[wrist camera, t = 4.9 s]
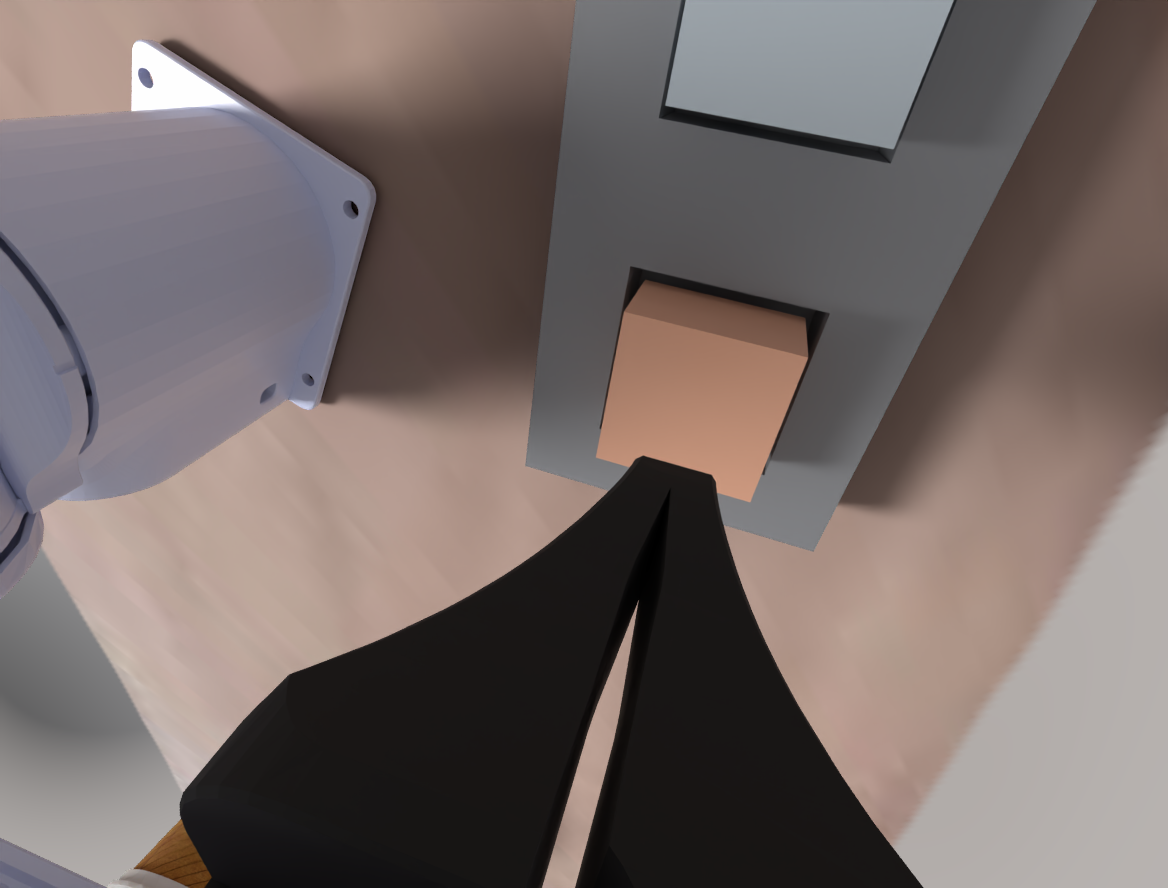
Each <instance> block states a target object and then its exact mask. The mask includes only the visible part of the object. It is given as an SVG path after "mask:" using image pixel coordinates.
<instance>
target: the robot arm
mask: <svg viewBox="0 0 1168 888" xmlns="http://www.w3.org/2000/svg"><path fill="white" fill-rule="evenodd" d="M150 73H151V75H152V77H153V82H154V84H153V82H152V80H151V78H150ZM351 201H353V202H354V203H355V204H356V205H357V208H358V210H359V215H356V214H355V213H354V212H353V210H352V208H351ZM375 203H376V192H375V188H374V186H373V185H372V183H371V181H369V180H368V179H367V178H366V177H365V176H363V175H362V174H360V173H359V172H357V171H356V170H354V169H352V168H351V167H349V166H348V165H346V164H345V163H343V162H342V161H340V160H339V159H337V158H335V157H334V156H332V155H331V154H329V153H328V152H326V151H325V150H323V149H322V148H320V147H318V146H317V145H315V144H314V143H312V142H311V141H309V140H308V139H306V138H305V137H303V136H301V135H300V134H298V133H297V132H295V131H294V130H292V129H291V128H289V127H287V126H286V125H284V124H283V123H281V122H280V121H278V120H277V119H275V118H274V117H272V116H270V115H269V114H267V113H266V112H264V111H263V110H261V109H260V108H258V107H257V106H255V105H253V104H252V103H250V102H249V101H247V100H246V99H244V98H243V97H241V96H239V95H238V94H236V93H235V92H233V91H232V90H230V89H229V88H227V87H226V86H224V85H222V84H221V83H219V82H218V81H216V80H215V79H213V78H212V77H210V76H209V75H207V74H205V73H204V72H202V71H201V70H199V69H198V68H196V67H195V66H193V65H192V64H190V63H188V62H187V61H185V60H184V59H182V58H181V57H179V56H178V55H176V54H174V53H173V52H171V51H170V50H168V49H167V48H165V47H164V46H162V45H161V44H159V43H157V42H155V41H153V40H137V41H136V42H135V43H134V45H133V50H132V111H124V112H109V113H95V114H80V115H66V116H51V117H36V118H22V119H7V120H0V599H1V598H3V597H4V596H5V595H6V594H7V593H8V592H9V591H10V590H11V589H12V587H14V586H15V584H16V583H17V582H18V581H19V580H20V579H21V578H22V577H23V576H24V575H25V573H26V572H27V570H28V569H29V567H30V566H31V564H32V563H33V561H34V560H35V558H36V557H37V554H38V551H39V549H40V547H41V544H42V542H43V532H44V523H43V519H42V516H41V512H40V510H41V509H42V508H44V507H46V506H48V505H49V504H51V503H53V502H54V501H56V500H69V501H87V500H98V499H105V498H112V497H117V496H122V495H127V494H131V493H134V492H138V491H141V490H144V489H147V488H150V487H152V486H155V485H157V484H159V483H161V482H163V481H165V480H167V479H169V478H170V477H172V476H173V475H175V474H176V473H178V472H179V471H181V470H182V469H184V468H185V467H187V466H188V465H190V464H191V463H193V462H194V461H196V460H197V459H199V458H200V457H202V456H203V455H205V454H206V453H208V452H209V451H211V450H212V449H214V448H215V447H217V446H218V445H220V444H221V443H223V442H224V441H226V440H227V439H229V438H230V437H232V436H233V435H235V434H236V433H238V432H239V431H241V430H242V429H244V428H245V427H247V426H248V425H250V424H251V423H253V422H254V421H256V420H257V419H259V418H260V417H262V416H263V415H265V414H266V413H268V412H269V411H271V410H272V409H274V408H275V407H277V406H278V405H280V404H281V403H283V402H284V401H286V400H287V399H288V400H290V401H292V402H293V403H295V404H296V405H298V406H300V407H301V408H304V409H306V410H311V409H313V408H315V407H316V406H317V405H319V403H320V401H321V397H322V394H323V390H324V387H325V383H326V379H327V376H328V372H329V369H330V365H331V361H332V358H333V354H334V351H335V347H336V343H337V340H338V336H339V333H340V329H341V325H342V322H343V318H344V315H345V311H346V307H347V304H348V300H349V297H350V293H351V289H352V286H353V282H354V279H355V275H356V271H357V268H358V264H359V261H360V257H361V253H362V250H363V246H364V242H365V239H366V235H367V232H368V228H369V224H370V221H371V217H372V214H373V210H374V206H375ZM309 375H310V376H312V378H313V379H314V380H312V379H311V378H310V376H309ZM638 600H639V602H638ZM637 603H638V608H637V614H636V620H635V626H634V631H633V637H632V643H631V649H630V655H629V661H628V667H627V673H626V679H625V685H624V691H623V697H622V702H621V708H620V714H619V719H618V724H617V729H616V733H615V738H614V742H613V746H612V750H611V754H610V758H609V762H608V765H607V769H606V773H605V777H604V781H603V784H602V788H601V792H600V796H599V800H598V803H597V807H596V811H595V815H594V819H593V822H592V826H591V830H590V834H589V838H588V841H587V845H586V849H585V853H584V856H583V860H582V864H581V868H580V872H579V875H578V879H577V883H576V887H575V888H923V887H922V885H921V884H920V883H919V881H918V880H917V879H916V877H915V876H914V875H913V874H912V872H911V871H910V870H909V868H908V867H907V866H906V864H905V863H904V862H903V860H902V859H901V858H900V857H899V855H898V854H897V853H896V851H895V850H894V849H893V847H892V846H891V845H890V844H889V842H888V841H887V840H886V838H885V837H884V836H883V834H882V833H881V832H880V830H879V829H878V828H877V827H876V825H875V824H874V822H873V821H872V820H871V818H870V817H869V815H868V814H867V812H866V811H865V809H864V808H863V807H862V805H861V804H860V802H859V801H858V799H857V798H856V796H855V795H854V793H853V792H852V790H851V789H850V787H849V786H848V785H847V783H846V782H845V780H844V779H843V777H842V776H841V774H840V773H839V771H838V769H837V768H836V766H835V765H834V763H833V761H832V760H831V758H830V756H829V755H828V753H827V752H826V750H825V748H824V747H823V745H822V743H821V742H820V740H819V738H818V737H817V735H816V734H815V732H814V730H813V729H812V727H811V725H810V724H809V722H808V721H807V719H806V717H805V716H804V714H803V712H802V711H801V709H800V707H799V706H798V704H797V702H796V700H795V698H794V697H793V695H792V693H791V691H790V689H789V687H788V685H787V684H786V682H785V680H784V678H783V676H782V674H781V672H780V670H779V669H778V667H777V664H776V662H775V660H774V658H773V656H772V654H771V652H770V650H769V648H768V646H767V644H766V642H765V640H764V638H763V635H762V633H761V631H760V629H759V626H758V624H757V622H756V619H755V617H754V615H753V612H752V610H751V607H750V605H749V602H748V599H747V597H746V594H745V592H744V589H743V587H742V584H741V581H740V578H739V575H738V572H737V569H736V566H735V563H734V560H733V557H732V553H731V550H730V547H729V544H728V540H727V537H726V533H725V529H724V525H723V521H722V517H721V512H720V507H719V502H718V496H717V488H716V481H715V479H714V478H713V476H712V475H711V474H707V473H704V472H700V471H697V470H693V469H689V468H686V467H682V466H679V465H675V464H672V463H668V462H664V461H661V460H657V459H654V458H650V457H647V456H641V457H639V458H636V459H635V460H634V462H633V463H632V465H631V466H630V468H629V469H628V470H627V471H626V473H625V474H624V475H623V476H622V477H621V478H620V480H619V481H618V482H617V483H616V484H615V485H614V486H613V487H612V488H611V489H610V490H609V491H608V492H607V493H606V494H605V495H604V496H603V497H602V498H601V499H600V500H599V501H598V502H597V503H596V504H595V505H594V506H593V507H592V508H591V509H590V510H589V511H587V512H586V513H585V514H584V515H583V516H582V517H581V518H580V519H579V520H578V521H576V522H575V523H574V524H573V525H571V526H570V527H569V528H568V529H567V530H565V531H564V532H563V533H562V534H560V535H559V536H558V537H557V538H556V539H554V540H553V541H552V542H551V543H549V544H548V545H547V546H545V547H544V548H543V549H541V550H540V551H539V552H537V553H536V554H535V555H533V556H532V557H530V558H529V559H528V560H526V561H525V562H523V563H522V564H520V565H519V566H517V567H516V568H514V569H513V570H511V571H510V572H508V573H507V574H505V575H504V576H502V577H500V578H499V579H497V580H495V581H494V582H492V583H490V584H489V585H487V586H485V587H483V588H482V589H480V590H478V591H477V592H475V593H473V594H472V595H470V596H468V597H466V598H465V599H463V600H461V601H459V602H457V603H455V604H454V605H452V606H450V607H448V608H446V609H444V610H442V611H440V612H438V613H436V614H434V615H431V616H429V617H427V618H425V619H423V620H421V621H419V622H417V623H415V624H413V625H410V626H408V627H406V628H404V629H402V630H400V631H398V632H396V633H394V634H392V635H389V636H387V637H385V638H382V639H380V640H378V641H375V642H373V643H371V644H368V645H366V646H363V647H360V648H358V649H355V650H353V651H350V652H347V653H345V654H342V655H340V656H337V657H334V658H332V659H329V660H327V661H324V662H321V663H319V664H316V665H314V666H311V667H308V668H306V669H303V670H300V671H297V672H295V673H292V674H289V675H288V676H287V677H286V678H285V679H284V680H283V681H282V682H281V683H280V684H279V685H278V686H277V687H276V688H275V689H274V690H273V691H272V692H271V693H270V694H269V695H268V696H267V697H266V698H265V699H264V700H263V701H262V702H261V703H260V704H259V705H258V706H257V707H256V708H255V709H254V710H253V711H252V712H251V713H250V714H249V715H248V716H247V717H246V718H245V719H244V720H243V721H242V723H241V724H240V725H239V726H238V727H237V728H236V730H235V731H234V732H233V733H232V734H231V736H230V737H229V738H228V739H227V740H226V742H225V743H224V744H223V745H222V746H221V748H220V749H219V750H218V751H217V752H216V754H215V755H214V756H213V757H212V758H211V760H210V761H209V762H208V763H207V764H206V766H205V767H204V768H203V769H202V771H201V772H200V773H199V774H198V775H197V777H196V778H195V779H194V780H193V781H192V783H191V784H190V785H189V786H188V787H187V789H186V790H185V791H184V792H183V795H182V798H181V801H180V816H181V819H182V822H183V825H184V828H185V830H186V832H187V834H188V836H189V838H190V839H191V841H192V843H193V845H194V846H195V848H196V850H197V852H198V854H199V855H200V857H201V859H202V861H203V863H204V864H205V866H206V868H207V870H208V871H209V873H210V875H211V879H210V880H209V882H208V883H207V884H206V886H205V887H204V888H542V886H543V882H544V879H545V875H546V872H547V869H548V865H549V862H550V858H551V855H552V851H553V848H554V845H555V841H556V838H557V834H558V831H559V828H560V824H561V821H562V817H563V814H564V811H565V807H566V804H567V800H568V797H569V794H570V790H571V787H572V783H573V780H574V777H575V773H576V770H577V766H578V763H579V760H580V756H581V753H582V749H583V746H584V743H585V739H586V736H587V733H588V730H589V727H590V724H591V721H592V718H593V715H594V712H595V709H596V707H597V704H598V701H599V699H600V696H601V694H602V691H603V689H604V686H605V684H606V681H607V679H608V676H609V674H610V671H611V669H612V666H613V664H614V661H615V658H616V656H617V653H618V651H619V648H620V646H621V643H622V641H623V638H624V636H625V633H626V631H627V628H628V626H629V623H630V620H631V618H632V615H633V613H634V610H635V608H636V605H637ZM0 888H107V887H104V886H102V885H100V884H98V883H96V882H94V881H92V880H89V879H87V878H85V877H83V876H81V875H79V874H77V873H74V872H72V871H70V870H68V869H66V868H64V867H62V866H59V865H57V864H55V863H53V862H51V861H49V860H47V859H44V858H42V857H40V856H38V855H36V854H33V853H31V852H29V851H27V850H25V849H23V848H21V847H19V846H16V845H14V844H12V843H10V842H8V841H5V840H4V839H1V838H0Z"/></svg>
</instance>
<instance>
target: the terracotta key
mask: <svg viewBox="0 0 1168 888" xmlns="http://www.w3.org/2000/svg"><path fill="white" fill-rule="evenodd" d="M807 360H808V347H807V333H806V320H805V318H804V317H800V316H796V315H791V314H787V313H783V312H779V311H775V310H770V309H766V308H762V307H758V306H754V305H750V304H745V303H741V302H737V301H733V300H729V299H725V298H720V297H716V296H712V295H708V294H704V293H699V292H695V291H691V290H687V289H683V288H679V287H674V286H670V285H666V284H662V283H658V282H653V281H649V280H645V281H644V282H643V284H642V285H641V287H640V288H639V290H638V291H637V293H636V294H635V296H634V297H633V299H632V300H631V302H630V303H629V305H628V306H627V308H626V309H625V311H624V314H623V319H622V324H621V330H620V335H619V340H618V345H617V350H616V356H615V361H614V366H613V371H612V376H611V381H610V387H609V392H608V397H607V402H606V407H605V413H604V418H603V423H602V428H601V433H600V438H599V444H598V449H597V454H596V458H599V459H603V460H606V461H609V462H613V463H616V464H620V465H623V466H627V467H630V466H631V465H632V463H633V462H634V460H635V459H636V458H639V457H641V456H647V457H650V458H654V459H657V460H661V461H664V462H668V463H672V464H675V465H679V466H682V467H686V468H689V469H693V470H697V471H700V472H704V473H707V474H711V475H712V476H713V478H714V479H715V481H716V488H717V493H720V494H723V495H726V496H730V497H733V498H737V499H740V500H744V501H747V502H751V499H752V497H753V494H754V492H755V489H756V487H757V484H758V482H759V479H760V477H761V474H762V472H763V469H764V467H765V464H766V462H767V459H768V457H769V454H770V452H771V449H772V447H773V444H774V442H775V439H776V437H777V434H778V432H779V429H780V427H781V424H782V422H783V419H784V417H785V414H786V412H787V409H788V407H789V404H790V402H791V399H792V397H793V394H794V392H795V389H796V387H797V384H798V382H799V380H800V377H801V375H802V372H803V370H804V367H805V365H806V362H807Z"/></svg>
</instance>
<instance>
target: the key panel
mask: <svg viewBox="0 0 1168 888" xmlns="http://www.w3.org/2000/svg"><path fill="white" fill-rule="evenodd" d="M1096 1H1097V0H954V1H953V3H952V6H951V8H950V11H949V13H948V16H947V18H946V21H945V23H944V26H943V28H942V31H941V33H940V36H939V38H938V41H937V43H936V46H935V48H934V50H933V53H932V55H931V58H930V60H929V63H928V65H927V68H926V70H925V73H924V75H923V78H922V80H921V83H920V85H919V88H918V90H917V93H916V95H915V98H914V100H913V103H912V105H911V108H910V110H909V113H908V115H907V117H906V120H905V122H904V125H903V127H902V130H901V132H900V135H899V137H898V140H897V142H896V145H895V147H894V149H889V148H884V147H879V146H874V145H868V144H863V143H858V142H853V141H847V140H842V139H837V138H832V137H827V136H821V135H816V134H811V133H806V132H801V131H795V130H790V129H785V128H780V127H775V126H769V125H764V124H759V123H754V122H749V121H743V120H738V119H733V118H728V117H722V116H717V115H712V114H707V113H702V112H696V111H691V110H686V109H681V108H676V107H670V106H665V105H666V100H667V94H668V89H669V84H670V79H671V74H672V69H673V63H674V58H675V53H676V48H677V43H678V38H679V33H680V27H681V22H682V17H683V12H684V7H685V2H686V0H576V6H575V15H574V24H573V34H572V43H571V52H570V61H569V70H568V79H567V89H566V98H565V107H564V116H563V125H562V134H561V144H560V153H559V162H558V171H557V180H556V190H555V199H554V208H553V217H552V226H551V235H550V245H549V254H548V263H547V272H546V281H545V290H544V300H543V309H542V318H541V327H540V336H539V345H538V355H537V364H536V373H535V382H534V391H533V400H532V410H531V419H530V428H529V437H528V446H527V455H526V465H525V466H528V467H531V468H535V469H538V470H541V471H545V472H548V473H551V474H555V475H558V476H561V477H565V478H568V479H571V480H575V481H578V482H582V483H585V484H588V485H592V486H595V487H598V488H602V489H605V490H608V491H609V490H610V489H611V488H612V487H613V486H614V485H615V484H616V483H617V482H618V481H619V480H620V478H621V477H622V476H623V475H624V474H625V473H626V471H627V470H628V469H629V468H630V467H627V466H623V465H620V464H616V463H613V462H609V461H606V460H603V459H599V458H596V454H597V449H598V444H599V438H600V433H601V428H602V423H603V418H604V413H605V407H606V402H607V397H608V392H609V387H610V381H611V376H612V371H613V366H614V361H615V356H616V350H617V345H618V340H619V335H620V330H621V324H622V319H623V314H624V311H625V309H626V308H627V306H628V305H629V303H630V302H631V300H632V299H633V297H634V296H635V294H636V293H637V291H638V290H639V288H640V287H641V285H642V284H643V282H644V281H645V280H649V281H653V282H658V283H662V284H666V285H670V286H674V287H679V288H683V289H687V290H691V291H695V292H699V293H704V294H708V295H712V296H716V297H720V298H725V299H729V300H733V301H737V302H741V303H745V304H750V305H754V306H758V307H762V308H766V309H770V310H775V311H779V312H783V313H787V314H791V315H796V316H800V317H804V318H805V320H806V333H807V347H808V360H807V362H806V365H805V367H804V370H803V372H802V375H801V377H800V380H799V382H798V384H797V387H796V389H795V392H794V394H793V397H792V399H791V402H790V404H789V407H788V409H787V412H786V414H785V417H784V419H783V422H782V424H781V427H780V429H779V432H778V434H777V437H776V439H775V442H774V444H773V447H772V449H771V452H770V454H769V457H768V459H767V462H766V464H765V467H764V469H763V472H762V474H761V477H760V479H759V482H758V484H757V487H756V489H755V492H754V494H753V497H752V499H751V502H747V501H744V500H740V499H737V498H733V497H730V496H726V495H723V494H720V493H717V496H718V502H719V507H720V512H721V517H722V521H723V525H726V526H729V527H732V528H736V529H739V530H742V531H746V532H749V533H752V534H756V535H759V536H763V537H766V538H769V539H773V540H776V541H779V542H783V543H786V544H789V545H793V546H796V547H799V548H803V549H806V550H809V551H814V549H815V547H816V546H817V544H818V542H819V540H820V538H821V536H822V534H823V532H824V530H825V528H826V526H827V524H828V522H829V520H830V518H831V516H832V514H833V512H834V511H835V509H836V507H837V505H838V503H839V501H840V499H841V497H842V495H843V493H844V491H845V489H846V487H847V485H848V483H849V481H850V479H851V477H852V475H853V474H854V472H855V470H856V468H857V466H858V464H859V462H860V460H861V458H862V456H863V454H864V452H865V450H866V448H867V446H868V444H869V442H870V440H871V439H872V437H873V435H874V433H875V431H876V429H877V427H878V425H879V423H880V421H881V419H882V417H883V415H884V413H885V411H886V409H887V407H888V405H889V404H890V402H891V400H892V398H893V396H894V394H895V392H896V390H897V388H898V386H899V384H900V382H901V380H902V378H903V376H904V374H905V372H906V370H907V369H908V367H909V365H910V363H911V361H912V359H913V357H914V355H915V353H916V351H917V349H918V347H919V345H920V343H921V341H922V339H923V337H924V335H925V334H926V332H927V330H928V328H929V326H930V324H931V322H932V320H933V318H934V316H935V314H936V312H937V310H938V308H939V306H940V304H941V302H942V300H943V299H944V297H945V295H946V293H947V291H948V289H949V287H950V285H951V283H952V281H953V279H954V277H955V275H956V273H957V271H958V269H959V267H960V265H961V264H962V262H963V260H964V258H965V256H966V254H967V252H968V250H969V248H970V246H971V244H972V242H973V240H974V238H975V236H976V234H977V232H978V230H979V229H980V227H981V225H982V223H983V221H984V219H985V217H986V215H987V213H988V211H989V209H990V207H991V205H992V203H993V201H994V199H995V197H996V195H997V194H998V192H999V190H1000V188H1001V186H1002V184H1003V182H1004V180H1005V178H1006V176H1007V174H1008V172H1009V170H1010V168H1011V166H1012V164H1013V162H1014V160H1015V159H1016V157H1017V155H1018V153H1019V151H1020V149H1021V147H1022V145H1023V143H1024V141H1025V139H1026V137H1027V135H1028V133H1029V131H1030V129H1031V127H1032V125H1033V123H1034V122H1035V120H1036V118H1037V116H1038V114H1039V112H1040V110H1041V108H1042V106H1043V104H1044V102H1045V100H1046V98H1047V96H1048V94H1049V92H1050V90H1051V88H1052V87H1053V85H1054V83H1055V81H1056V79H1057V77H1058V75H1059V73H1060V71H1061V69H1062V67H1063V65H1064V63H1065V61H1066V59H1067V57H1068V55H1069V53H1070V52H1071V50H1072V48H1073V46H1074V44H1075V42H1076V40H1077V38H1078V36H1079V34H1080V32H1081V30H1082V28H1083V26H1084V24H1085V22H1086V20H1087V18H1088V17H1089V15H1090V13H1091V11H1092V9H1093V7H1094V5H1095V3H1096Z"/></svg>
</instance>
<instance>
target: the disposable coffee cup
mask: <svg viewBox="0 0 1168 888" xmlns="http://www.w3.org/2000/svg"><path fill="white" fill-rule="evenodd" d="M210 879H211V875H210V873H209V871H208V870H207V868H206V866H205V864H204V863H203V861H202V859H201V857H200V855H199V854H198V852H197V850H196V848H195V846H194V845H193V843H192V841H191V839H190V838H189V836H188V834H187V832H186V830H185V828H184V825H183V822H182V819H181V820H180V821H179V822H178V823H177V824H176V825H175V826H174V827H173V828H172V829H171V830H170V831H169V832H168V833H167V834H166V835H165V836H164V838H162V839H161V840H160V841H159V842H158V844H157V845H156V846H155V847H154V848H153V849H152V850H151V851H150V852H149V853H148V854H147V855H146V856H145V857H144V859H143V860H142V861H141V862H140V863H139V864H138V865H137V866H136V867H135V868H134V869H130V870H127V871H126V872H125V873H124V874H123V875H122V877H121V878H120V879H119V880H113V881H112V882H111V883H110V884H109V885H108V886H107V888H204V887H205V886H206V884H207V883H208V882H209V880H210Z"/></svg>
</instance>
